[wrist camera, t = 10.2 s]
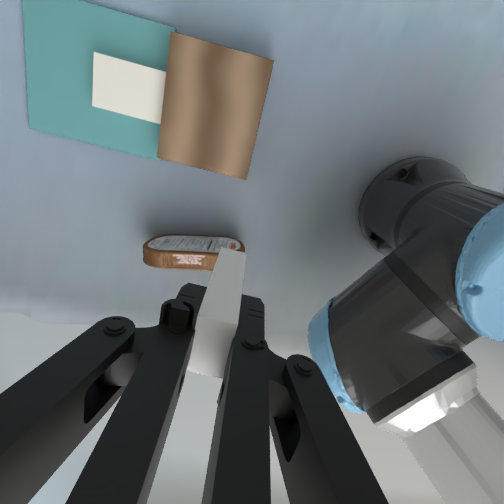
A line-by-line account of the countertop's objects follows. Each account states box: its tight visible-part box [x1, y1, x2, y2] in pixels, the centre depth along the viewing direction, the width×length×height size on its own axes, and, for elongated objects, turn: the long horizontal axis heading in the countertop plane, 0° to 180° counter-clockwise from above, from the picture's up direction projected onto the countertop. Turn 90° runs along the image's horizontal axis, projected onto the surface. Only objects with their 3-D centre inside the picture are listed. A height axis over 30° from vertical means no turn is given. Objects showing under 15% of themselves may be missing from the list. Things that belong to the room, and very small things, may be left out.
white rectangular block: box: [92, 52, 166, 124], centre depth 38 cm, size 9×6×2 cm, turn 76°
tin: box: [143, 235, 245, 271], centre depth 44 cm, size 15×3×8 cm, turn 88°
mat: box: [22, 0, 176, 161], centre depth 39 cm, size 18×16×1 cm
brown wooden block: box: [157, 31, 274, 180], centre depth 39 cm, size 12×14×4 cm
